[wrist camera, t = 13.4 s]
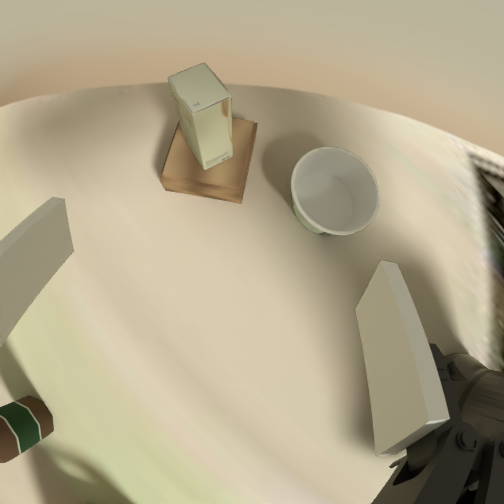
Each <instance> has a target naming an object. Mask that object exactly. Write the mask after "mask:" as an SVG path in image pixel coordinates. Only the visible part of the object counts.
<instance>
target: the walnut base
mask: <svg viewBox="0 0 504 504" xmlns="http://www.w3.org/2000/svg"><path fill="white" fill-rule="evenodd" d="M256 130H257V123H254V121H249V120H243V119H237V118H232V145H233V156H232V157H230V158H228V159H227V160H225V161H223V162H221V163H219V164H217V165H215V166H213V167H211V168H209V169H207V170H204V169H203V168H202V166H201V165H200V163H199V162H198V160H197V159H196V157H195V155H194V154H193V152H192V151H191V149H190V147H189V145H188V144H187V142H186V140H185V138H184V135H183V131H182V128H181V124H180V121H179V122H178V125H177V128H176V131H175V134H174V136H173V139H172V142H171V145H170V148H169V151H168V154H167V157H166V161H165V164H164V167H163V170H162V173H161V177H160V181H161V183H162V185H163V187H164V188H165V190H166V191H172V192H178V193H185V194H191V195H196V196H202V197H208V198H214V199H219V200H225V201H230V202H236V203H242V198H243V193H244V189H245V184H246V179H247V174H248V170H249V165H250V160H251V156H252V151H253V146H254V142H255V137H256Z"/></svg>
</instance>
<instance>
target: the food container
mask: <svg viewBox="0 0 504 504" xmlns="http://www.w3.org/2000/svg"><path fill="white" fill-rule="evenodd" d="M291 192H292V196H293V198H292V204H293V209H294V213H295V215H296V217H297V219H298V220H299V221H300V223H301V224H302V225H303V226H304V227H306V228H307V229H308V230H310V231H312V232H314V233H317V234H321V235H330V234H334V235H350V234H354V233H357V232H359V231H361V230H363V229H364V228H366V227H367V226H368V225H369V224H370V223H371V222H372V220H373V219H374V217H375V215H376V213H377V210H378V207H379V189H378V184H377V181H376V179H375V177H374V175H373V173H372V171H371V170H370V168H369V167H368V166H367V165H366V164H365V163H364V162H363V161H362V160H361V159H360V158H359V157H358V156H356V155H355V154H353V153H351V152H349V151H347V150H344V149H341V148H337V147H320V148H316V149H313V150H311V151H309V152H307V153H306V154H305V155H303V156H302V157H301V158H300V159H299V161H298V162H297V163H296V165H295V167H294V169H293V172H292V176H291Z"/></svg>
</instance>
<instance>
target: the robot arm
mask: <svg viewBox="0 0 504 504" xmlns="http://www.w3.org/2000/svg"><path fill="white" fill-rule="evenodd" d="M73 252H74V249H73V244H72V239H71V234H70V229H69V223H68V217H67V211H66V205H65V199H62V198H56V197H52V198H50V199H49V200H48V201H47V202H45V203H44V204H43V205H42V206H40V207H39V208H38V209H37V210H35V211H34V212H33V213H32V214H31V215H29V216H28V217H27V218H26V219H25V220H23V221H22V222H21V223H20V224H19V225H18V226H17V227H15V228H14V229H13V230H12V231H11V232H10V233H9V234H8V235H7V236H5V237H4V238H3V239H2V240H1V241H0V348H1V346H2V345H3V343H4V341H5V340H6V338H7V337H8V335H9V334H10V332H11V331H12V330H13V328H14V327H15V325H16V324H17V322H18V321H19V320H20V318H21V317H22V315H23V314H24V313H25V311H26V310H27V308H28V307H29V306H30V304H31V303H32V302H33V300H34V299H35V298H36V297H37V295H38V294H39V293H40V291H41V290H42V289H43V288H44V286H45V285H46V284H47V283H48V281H49V280H50V279H51V278H52V276H53V275H54V274H55V273H56V272H57V270H58V269H59V268H60V267H61V266H62V264H63V263H64V262H65V261H66V260H67V259H68V257H69V256H70V255H71V254H72V253H73ZM355 311H356V316H357V321H358V327H359V332H360V337H361V343H362V349H363V355H364V361H365V367H366V374H367V381H368V388H369V395H370V403H371V412H372V421H373V430H374V441H375V453H376V456H383V455H394V454H397V453H399V452H400V451H402V450H404V449H405V448H406V451H407V455H406V456H404V457H403V458H401V459H399V460H397V461H395V462H393V463H392V464H391V465H390V466H389V467H390V468H393V467H395V466H397V465H398V467H397V468H396V470H394V473H393V474H392V476H391V477H390V479H389V480H388V482H387V483H386V484H385V486H384V487H383V489H382V490H381V491H380V493H379V494H378V495H377V497H376V498H375V499H374V501H373V502H372V503H371V504H504V372H499V371H493V370H489V369H488V368H487V367H485V366H484V365H483V364H482V363H480V362H479V361H478V360H476V359H475V358H474V357H472V356H470V355H467V354H461V353H453V354H450V355H447V356H446V357H444V356H443V355H442V353H441V352H440V350H439V349H438V347H437V346H436V345H435V344H429V343H428V340H427V337H426V335H425V332H424V329H423V326H422V323H421V321H420V318H419V315H418V313H417V310H416V307H415V305H414V302H413V300H412V297H411V295H410V292H409V290H408V287H407V285H406V283H405V280H404V278H403V276H402V273H401V271H400V269H399V267H398V264H397V263H393V262H388V261H384V260H381V261H380V263H379V265H378V267H377V269H376V271H375V273H374V275H373V277H372V279H371V281H370V283H369V285H368V286H367V288H366V290H365V292H364V294H363V296H362V298H361V300H360V302H359V303H358V305H357V307H356V309H355Z"/></svg>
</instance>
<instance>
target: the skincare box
mask: <svg viewBox="0 0 504 504" xmlns="http://www.w3.org/2000/svg"><path fill="white" fill-rule="evenodd" d="M168 82H169V85H170V89H171V93H172V96H173V100H174V103H175V107H176V110H177V114H178V117H179V121H180V124H181V128H182V131H183V135H184V138H185V140H186V142H187V144H188V145H189V147H190V149H191V151H192V152H193V154H194V155H195V157H196V159H197V160H198V162H199V163H200V165H201V166H202V168H203V169H204V170H207V169H209V168H211V167H213V166H215V165H217V164H219V163H221V162H223V161H225V160H227V159H228V158H230V157H232V156H233V145H232V96H231V94H230V93H229V91H228V90H227V88H226V87H225V86H224V84H223V83H222V82H221V81H220V79H219V78H218V77H217V76H216V75H215V74H214V72H213V71H212V70H211V69H210V68H209V67H208V66H207V65H206V64H205V63H202V64H199V65H196V66H194V67H191V68H188V69H186V70H184V71H181V72H179V73H176V74H174V75H172V76H169V77H168Z"/></svg>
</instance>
